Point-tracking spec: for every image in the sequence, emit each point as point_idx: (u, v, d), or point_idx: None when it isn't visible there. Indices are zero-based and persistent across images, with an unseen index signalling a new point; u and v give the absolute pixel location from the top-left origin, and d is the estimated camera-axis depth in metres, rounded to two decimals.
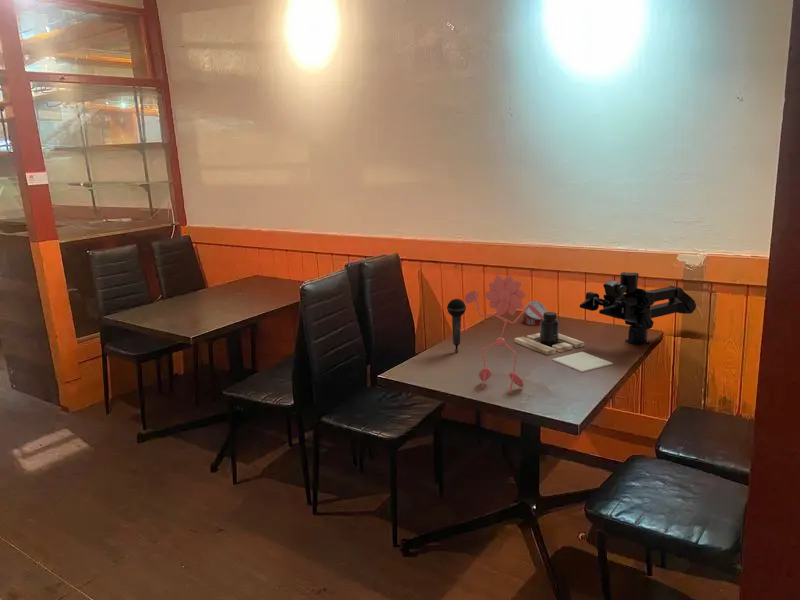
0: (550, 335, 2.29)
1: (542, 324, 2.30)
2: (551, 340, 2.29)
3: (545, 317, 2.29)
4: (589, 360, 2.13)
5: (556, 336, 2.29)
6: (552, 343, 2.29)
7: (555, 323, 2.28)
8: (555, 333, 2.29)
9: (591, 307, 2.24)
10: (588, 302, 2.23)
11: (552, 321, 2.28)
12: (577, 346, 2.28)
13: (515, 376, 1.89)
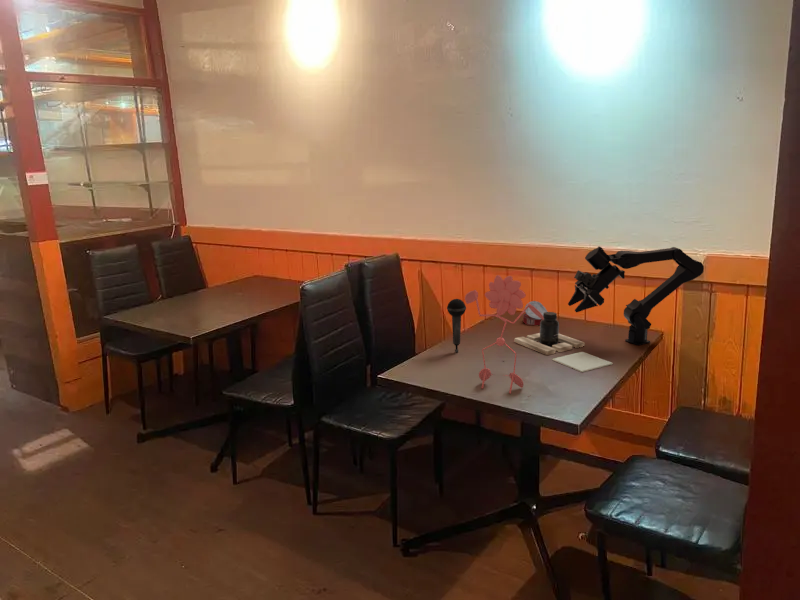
0: (550, 335, 2.29)
1: (542, 324, 2.30)
2: (551, 340, 2.29)
3: (545, 317, 2.29)
4: (589, 360, 2.13)
5: (556, 336, 2.29)
6: (552, 343, 2.29)
7: (555, 323, 2.28)
8: (555, 333, 2.29)
9: (582, 296, 2.33)
10: (575, 295, 2.33)
11: (552, 321, 2.28)
12: (577, 346, 2.28)
13: (515, 376, 1.89)
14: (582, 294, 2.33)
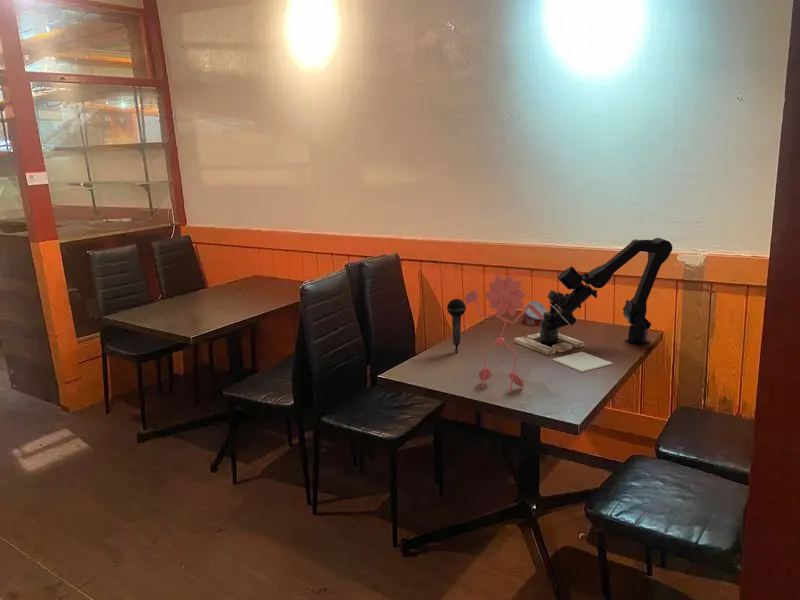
0: (550, 335, 2.29)
1: (542, 324, 2.30)
2: (551, 340, 2.29)
3: (545, 317, 2.29)
4: (589, 360, 2.13)
5: (556, 336, 2.29)
6: (552, 343, 2.29)
7: None
8: (555, 333, 2.29)
9: None
10: None
11: (552, 321, 2.28)
12: (577, 346, 2.28)
13: (515, 376, 1.89)
14: None
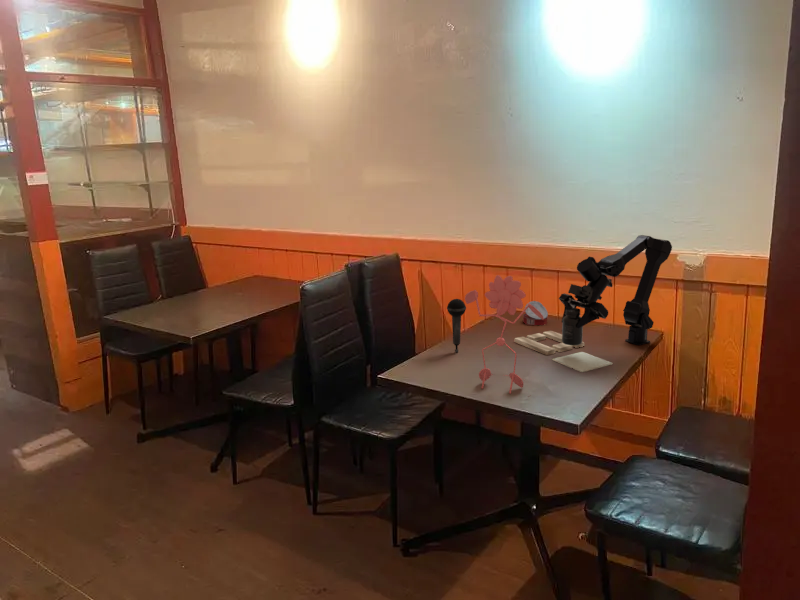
0: (579, 332, 2.12)
1: (569, 322, 2.12)
2: (579, 338, 2.13)
3: (571, 314, 2.12)
4: (589, 360, 2.13)
5: (582, 333, 2.14)
6: (580, 341, 2.13)
7: None
8: (582, 330, 2.13)
9: None
10: None
11: (579, 317, 2.12)
12: (577, 346, 2.28)
13: (515, 376, 1.89)
14: None
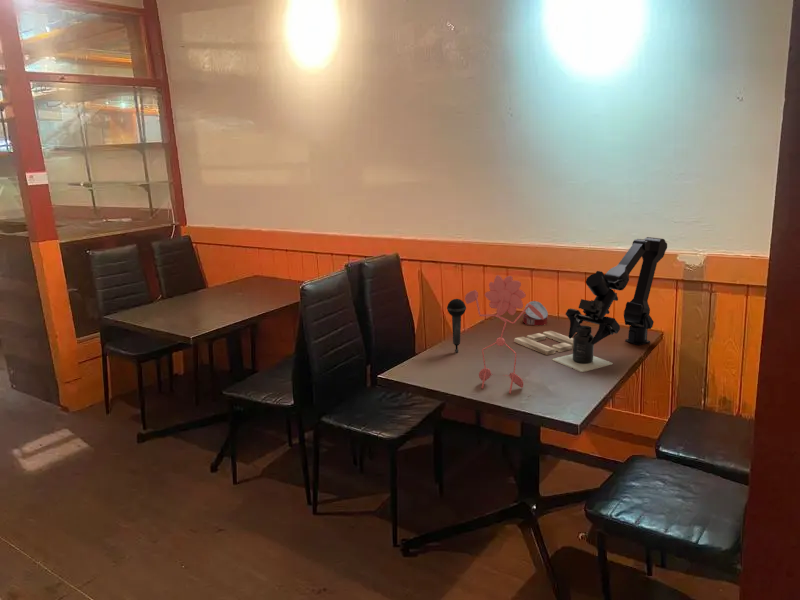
0: (591, 350, 2.09)
1: (581, 340, 2.08)
2: (591, 356, 2.10)
3: (583, 332, 2.08)
4: None
5: (593, 350, 2.11)
6: (592, 359, 2.11)
7: (593, 337, 2.10)
8: (593, 348, 2.11)
9: (578, 325, 2.17)
10: (573, 326, 2.15)
11: (590, 335, 2.09)
12: None
13: (515, 376, 1.89)
14: (577, 323, 2.16)
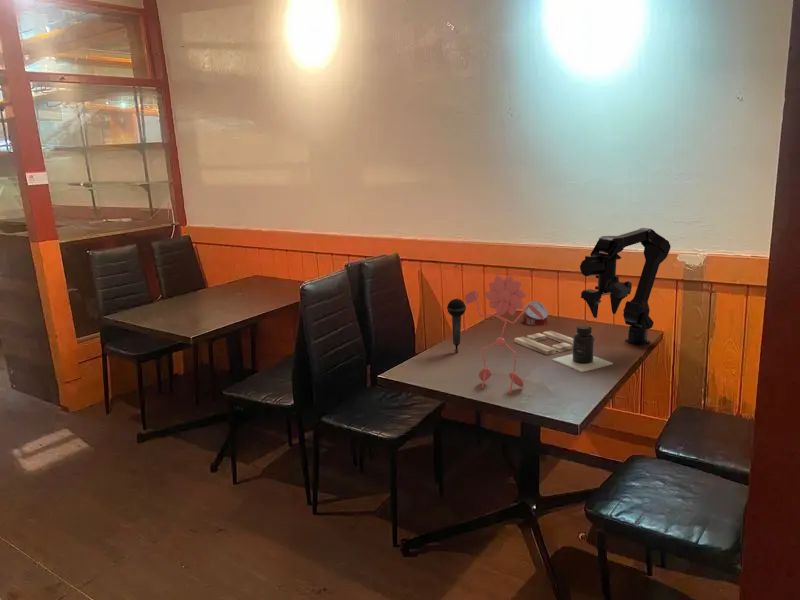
0: (591, 350, 2.09)
1: (581, 340, 2.08)
2: (591, 356, 2.10)
3: (583, 332, 2.08)
4: None
5: (593, 350, 2.11)
6: (592, 359, 2.11)
7: (593, 337, 2.10)
8: (593, 348, 2.11)
9: None
10: None
11: (590, 335, 2.09)
12: None
13: (515, 376, 1.89)
14: None
